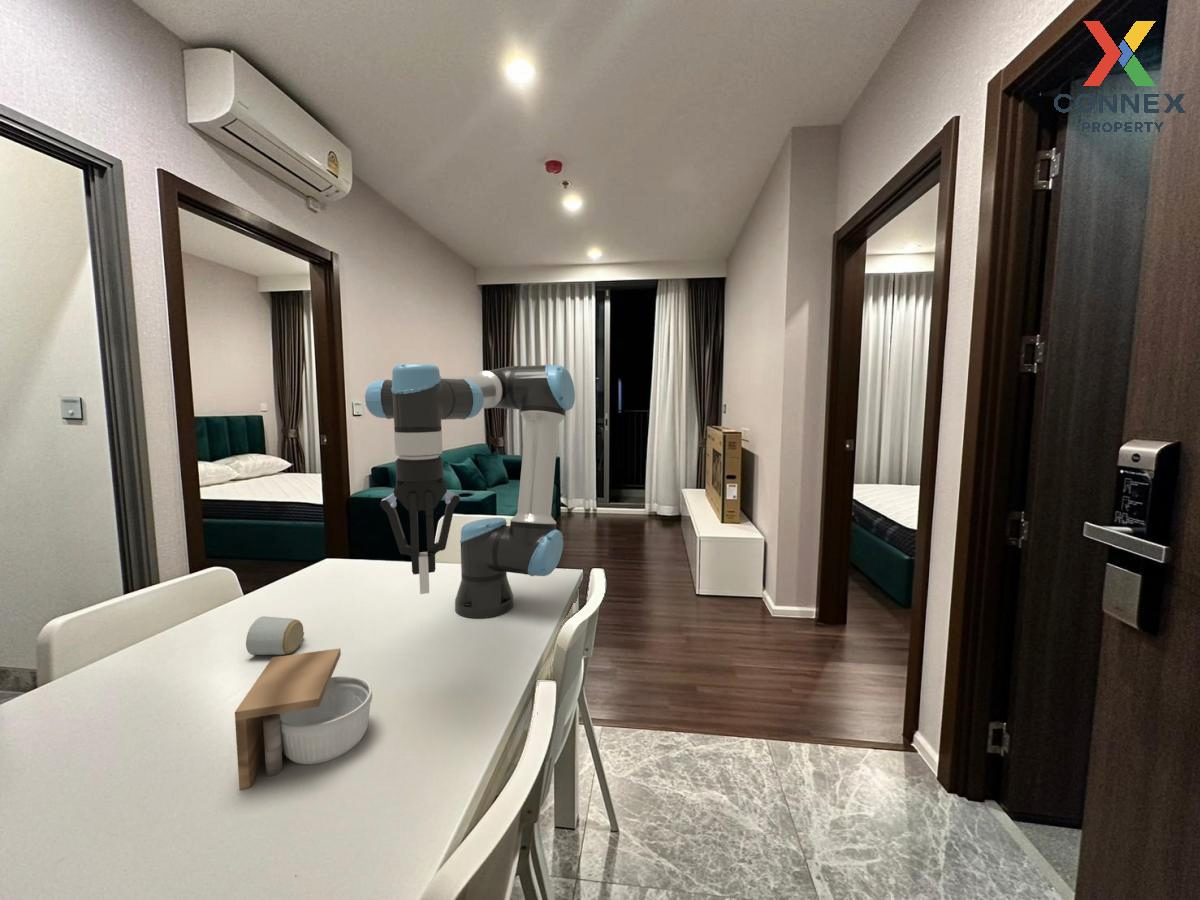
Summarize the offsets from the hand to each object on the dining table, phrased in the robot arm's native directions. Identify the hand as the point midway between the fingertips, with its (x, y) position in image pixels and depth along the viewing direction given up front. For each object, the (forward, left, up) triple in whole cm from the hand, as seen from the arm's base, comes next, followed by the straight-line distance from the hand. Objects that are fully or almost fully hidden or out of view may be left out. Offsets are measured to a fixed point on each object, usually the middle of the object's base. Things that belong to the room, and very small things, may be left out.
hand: (424, 590), depth 83 cm
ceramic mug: (+31, -30, -21) cm, 48 cm away
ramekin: (+15, +5, -21) cm, 26 cm away
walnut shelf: (+19, +5, -21) cm, 28 cm away
